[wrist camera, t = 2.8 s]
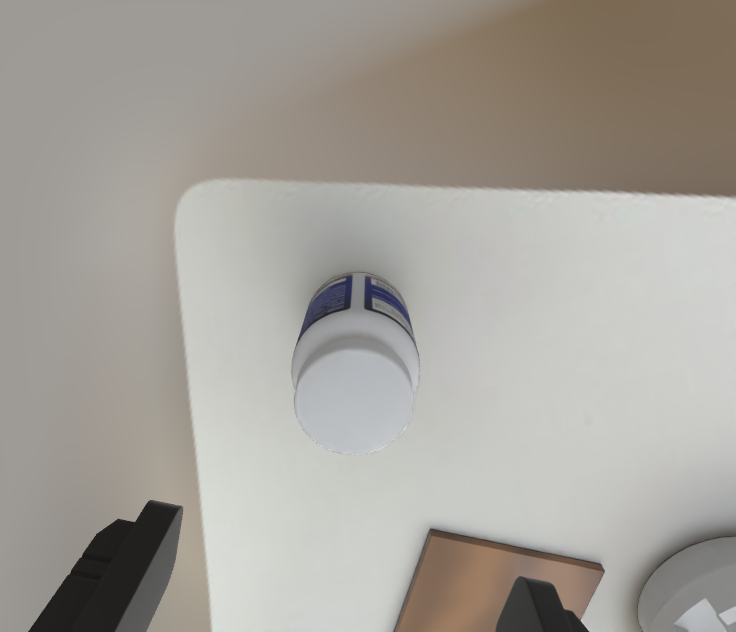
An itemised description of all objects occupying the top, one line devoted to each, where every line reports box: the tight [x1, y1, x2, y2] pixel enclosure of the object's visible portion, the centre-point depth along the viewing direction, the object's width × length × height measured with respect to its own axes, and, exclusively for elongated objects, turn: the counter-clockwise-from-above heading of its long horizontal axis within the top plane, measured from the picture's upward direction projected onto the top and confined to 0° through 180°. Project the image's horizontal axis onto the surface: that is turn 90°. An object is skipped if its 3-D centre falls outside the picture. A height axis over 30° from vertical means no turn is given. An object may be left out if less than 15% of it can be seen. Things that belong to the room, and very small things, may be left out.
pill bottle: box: [291, 273, 420, 455], centre depth 25 cm, size 6×6×10 cm
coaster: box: [394, 530, 605, 632], centre depth 36 cm, size 12×12×1 cm
